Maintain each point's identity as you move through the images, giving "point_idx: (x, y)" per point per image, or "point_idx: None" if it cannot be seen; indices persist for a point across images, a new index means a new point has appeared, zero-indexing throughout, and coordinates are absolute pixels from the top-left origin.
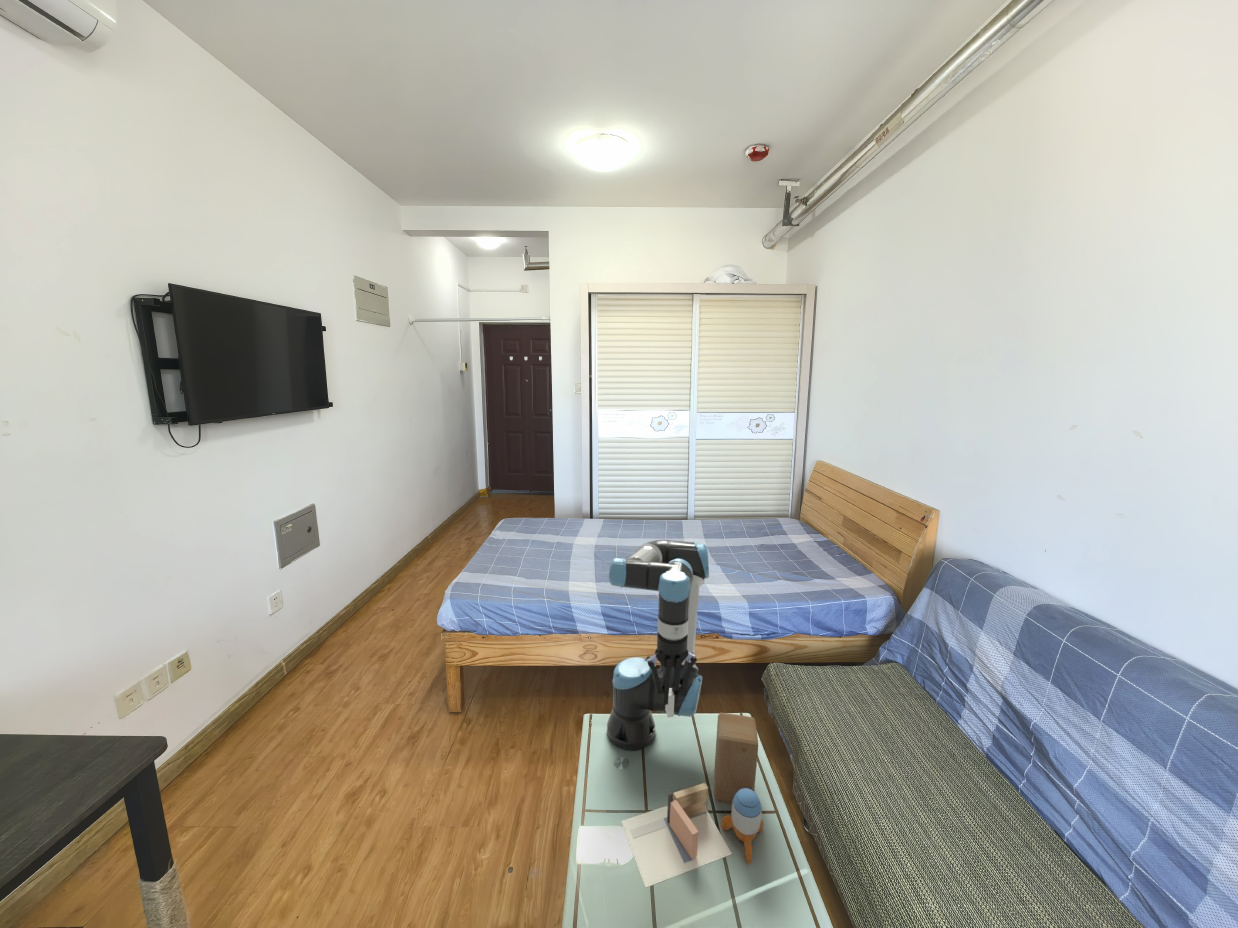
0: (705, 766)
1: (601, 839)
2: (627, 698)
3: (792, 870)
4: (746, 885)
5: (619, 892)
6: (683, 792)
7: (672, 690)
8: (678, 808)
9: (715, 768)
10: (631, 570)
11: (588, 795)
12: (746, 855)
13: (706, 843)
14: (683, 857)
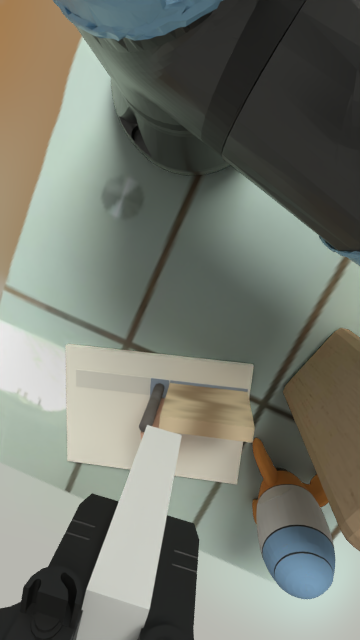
0: (326, 301)
1: (21, 356)
2: (106, 62)
3: None
4: (227, 521)
5: (28, 443)
6: (184, 425)
7: (139, 634)
8: None
9: (317, 393)
10: None
11: (18, 255)
12: (253, 513)
13: (204, 451)
14: None
